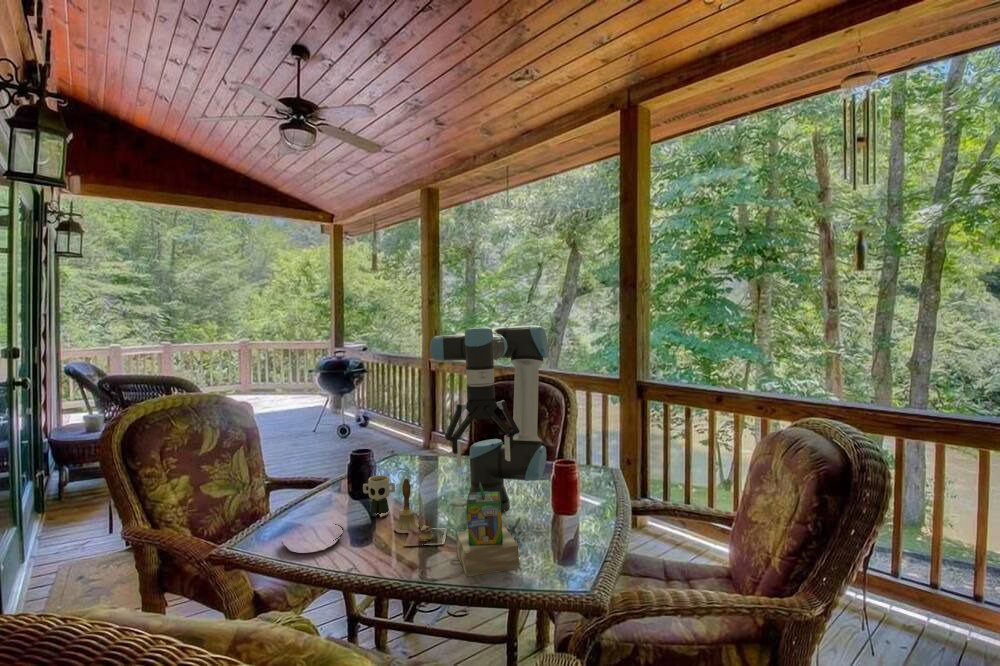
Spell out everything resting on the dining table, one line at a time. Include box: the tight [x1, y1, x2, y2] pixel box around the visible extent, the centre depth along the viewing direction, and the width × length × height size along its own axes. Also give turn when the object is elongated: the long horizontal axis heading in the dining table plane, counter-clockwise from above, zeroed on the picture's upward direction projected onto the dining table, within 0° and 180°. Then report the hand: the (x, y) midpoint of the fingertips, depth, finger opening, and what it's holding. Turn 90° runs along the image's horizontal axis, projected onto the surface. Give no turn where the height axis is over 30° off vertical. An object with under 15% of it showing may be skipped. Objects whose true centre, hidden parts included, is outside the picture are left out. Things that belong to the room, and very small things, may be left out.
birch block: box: [455, 525, 520, 578], centre depth 138 cm, size 14×14×6 cm
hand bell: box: [396, 478, 420, 530], centre depth 162 cm, size 8×8×16 cm
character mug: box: [362, 475, 396, 514], centre depth 174 cm, size 11×7×13 cm, turn 90°
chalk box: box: [466, 483, 503, 546], centre depth 138 cm, size 9×9×15 cm
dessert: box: [418, 524, 448, 546], centre depth 154 cm, size 12×12×5 cm
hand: (483, 462), depth 138 cm, fingers open, 13 cm apart
